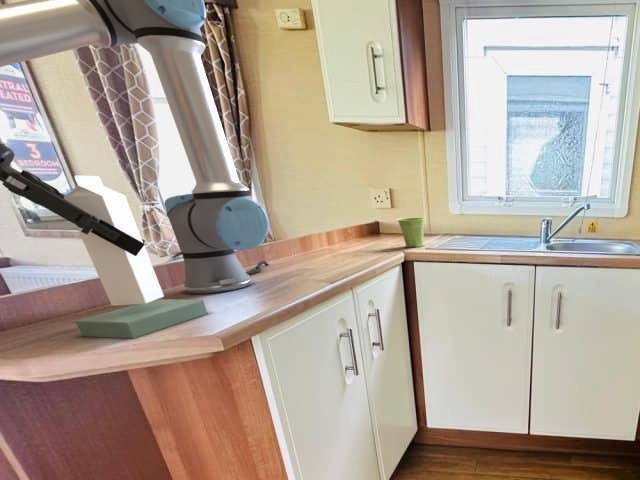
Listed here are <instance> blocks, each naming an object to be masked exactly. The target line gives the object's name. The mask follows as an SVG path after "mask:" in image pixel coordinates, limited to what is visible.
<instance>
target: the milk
mask: <svg viewBox="0 0 640 480" xmlns="http://www.w3.org/2000/svg"><path fill="white" fill-rule="evenodd" d="M74 180H75V182H76V186H75V187H74V188H73V189H72V190H70V191H68V193H66V194H64V195H65V196H64V199H65V200H67V201H68V202H70V203H72V204H73V205H75V206H77V207H79V208H80V209H82V210H84V211H85V212H87V213H89V214H90V215H92V216H95V217H97V219H99V220H100V219H101V220H103V221H105V222H107V223H108V224H110V225H112V226H114V227H116V228H117V229H119V230H121V231H123V232H124V233H126V234H128V235H130V236H132V237H133V238H135V239H137V240H139V241H140V242H142V243H143V241H142V239H143V238H142V236H141V233H140V230H139V228H138V225H137V223H136V220H135V218H134V216H133V215H134V214H133V213H132V210H131V207H130V205H129V202H128V199H127V197H126V195H125V194H123V193H120V192H119V191H116V190H114V189H112V188H109V187H107V186H105V185H104V184H103V181H102V179H101V177H100V176H98V175H97V176H95V175H74ZM99 220H98V222H99ZM75 226H76V228H77V231H78V233H79V235H80V237H81V240H82V242H83V244H84V246H85V249H86V252H87V254H88V255H89V257H90V260H91V262H92V265H93V267H94V269H95V272H96V273H97V276H98V279H99V280H100V282H101V284H102V287H103V290H104V291H105V294H106V295H107V298H108V301H109V302H110V305H111V306H113V307H115V306H133V305H137V304H146V303H149V302H151V301H154V300H157V299H163V298H164V297H165V295H164V292H163V289H162V287H161V285H160V282H159V280H158V276H157V274H156V272H155V269H154V266H153V264H152V262H151V259H150V256H149V254H148V251H147V249H146V245H144V246H143V247H142V249H141V250H140V252H139V253H138V254H137V256H134V255H132V254H131V253H129V252H127V251H125V250H123V249H121V248H119V247H118V246H116V245H114V244H112V243H110V242H108V241H106V240H105V239H103V238H101V237H99V236H97V235H95V234H93V233H92V232H91V231H92V229H91V231H90V232H89V233H88V235H87V234H85V233H83V232H81V231H82V228H79V227H78V226H77V225H75Z"/></svg>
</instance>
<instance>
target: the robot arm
mask: <svg viewBox="0 0 640 480" xmlns="http://www.w3.org/2000/svg"><path fill="white" fill-rule="evenodd" d="M206 17H207V10H206V5H205V1H204V0H21V1H15V2H10V3H3V4H0V68H3V67H7V66H11V65H14V64H15V65H16V64H19V63H23V62H27V61H32V60H35V59H39V58H43V57H47V56H52V55H56V54H59V53H63V52H67V51H72V50H75V49H80V48H84V47H89V46H91V45H95V46H97V47H99V48H102V49H108V48H113V47H117V46H122V45H132V44H134V45H135V44H138V45H139V46H140V47H142V48H143V49H144V50H146V52H148V53H149V55H150V56H151V59H152V62H153V64H154V68H155V70H156V74H157V76H158V79H159V82H160V85H161V87H162V90H163V92H164V95H165V98H166V102H167V104H168V106H169V110H170V112H171V115H172V118H173V121H174V123H175V126H176V129H177V133H178V136H179V138H180V140H181V143H182V146H183V149H184V152H185V155H186V157H187V160H188V163H189V165H190V169H191V171H192V174H193V177H194V180H195V186H194V188H193V189H191V193H187V194H179V195H178V194H177V195H173V196H170V197H167V198H166V199H165V200H164V208H165V212H166V213H165V214H166V217H167V219H168V220H169V223H170V226H171V228H172V232H173V234H174V237H175V240H176V242H177V245H178V247H179V251H180V253H181V256H182V259H183V261H184V280H185V281H184V289H185V291H186V293H187V294H195V295H196V294H197V295H200V294H201V295H202V294H204V295H205V294H215V293H224V292H229V291H235V290H239V289H244V288H247V287H249V286H251V285H252V284H253V281H252V279H251V277H250V276H251V275H254V274H257V273H260V272H262V268H261V267H262V265H265V267H267V266H270V265H269V263H268V262H267V261H265V260H261V261H260V262H258V264H257V265H256V266H255V269H253V270H249V271H246V270H245V269H244V268H245V267H243V265H242V263H241V261H240V260H239V258H238V257H237V254H236V252H235V251H245V250H252V249H256V248H258V247H260V246H261V245H262V244H264V242H265V240H266V238H267V237H268V235H269V230H270V223H269V222H270V221H269V218H268V215H267V213H266V211H265V209H264V208H263V207H262V206H261V205H259V203H258V202H257V201H255V200H254V199H253V198H252V194H251V191H250V189H249V187H248V186H246V185H245V184H244V183H242V182H241V181H240V179H239V177H238V174H237V169H236V166H235V164H234V160H233V157H232V153H231V151H230V147H229V145H228V141H227V137H226V135H225V132H224V131H225V130H224V129H223V126H222V122H221V119H220V116H219V113H218V110H217V106H216V102H215V100H214V97H213V94H212V90H211V87H210V84H209V80H208V77H207V74H206V71H205V68H204V64H203V61H202V57H201V56H202V55H203V54H204V52H205V50H206V45H205V41H204V38H203V35H202V31H201V27H202V26H203V25H204V23H205V21H206ZM14 159H15V152H14V150H12V148H10V147H8V146H6V145H4V144H3V143H1V142H0V182H2V184H1V185H2V186H4V187H5V188H6V189H7V190H8V191H9V192H11V193H13V194H14V195H17V196H19V197H22V198H25V199H26V200H28V201H29V202H31V203H33V204H34V205H35V204H36V205H38V206H40V207H43V208H44V209H46V210H48V211H49V212H52V213H53V214H56V215H57V216H59V217H61V218H62V219H64V220H66V221H68V222H69V223H71V224H74V225H75V226H76V225H77V226H78V227H79V228H82V231H81V232H83V233H85V234H87V235H88V233H89V232H90V231H91V229H92V231H91V232H92V233H93V234H95V235H97V236H99V237H101V238H103V239H105V240H106V241H108V242H110V243H112V244H114V245H116V246H118V247H119V248H121V249H123V250H125V251H127V252H129V253H131V254H132V255H134V256H137V254H138V253H139V252H140V250H141V249H142V247H143V246H146V243H145V242H146V240H145V239H143V238H142V241H143V243H142V242H140V241H139V240H137V239H135V238H133V237H132V236H130V235H128V234H126V233H124V232H123V231H121V230H119V229H117V228H116V227H114V226H112V225H110V224H108V223H107V222H105V221H103V220H101V219H100V220H99V219H97V217H95V216H92V215H90V214H89V213H87V212H85V211H84V210H82V209H80V208H79V207H77V206H75V205H73V204H72V203H70V202H68V201H67V200H65V199H64V196H65V195H66V194H64V193H61V192H60V191H59V189H57V188H56V187H55V186H53V185H52V184H51V185H50V184H48V183H47V182H45V181H44V180H41V178H40V177H39V176H37V175H36V174H33V173H32V172H30V171H29V170H25V169H23V170H22V171H19V170H17V169H15V168H13V167H11V163H13V161H14ZM98 220H99V222H98ZM77 226H76V227H77Z"/></svg>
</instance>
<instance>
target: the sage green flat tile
mask: <svg viewBox="0 0 640 480" xmlns="http://www.w3.org/2000/svg"><path fill="white" fill-rule="evenodd" d="M205 315H208V310H207V308H206V305H205V302H204V300H203V299H171V298H170V299H168V298H167V299H164V298H159V299H157V300H154V301H151V302H149V303H146V304H133V305H128V306H126V307H123V308H118V309H115V310H111V311H107V312H102V313H100V314H99V313H98V314H96V315H92V316H88V317H84V318H81V319H77V320H74V322H75V324H76V326H77V328H78V330H79V332H80V334H81V336H82V337H92V338H93V337H94V338H116V339H117V338H118V339H119V338H120V339H136V338H139V337H142V336H145V335H148V334H151V333H154V332H157V331H160V330H163V329H167V328H170V327H173V326H175V325H178V324H181V323H185V322H187V321H190V320H194V319H196V318H199V317H202V316H205Z"/></svg>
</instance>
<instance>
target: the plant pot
mask: <svg viewBox="0 0 640 480" xmlns="http://www.w3.org/2000/svg"><path fill="white" fill-rule="evenodd" d="M425 220H427V219H426V217H405V218H404V217H403V218H397V219H396V221H397V222H398V225H399V227H400V231H401V233H402V236H403V239H404V243H405V246H406V247H407V248H413V247H414V248H419V247H420V248H421V247H423V246H424V231H425V229H424V227H425Z"/></svg>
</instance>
